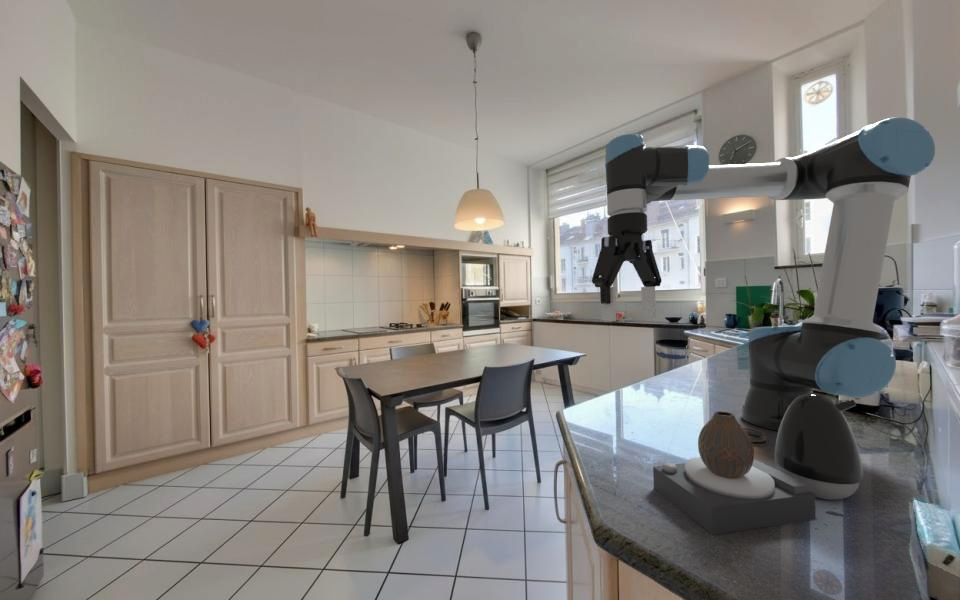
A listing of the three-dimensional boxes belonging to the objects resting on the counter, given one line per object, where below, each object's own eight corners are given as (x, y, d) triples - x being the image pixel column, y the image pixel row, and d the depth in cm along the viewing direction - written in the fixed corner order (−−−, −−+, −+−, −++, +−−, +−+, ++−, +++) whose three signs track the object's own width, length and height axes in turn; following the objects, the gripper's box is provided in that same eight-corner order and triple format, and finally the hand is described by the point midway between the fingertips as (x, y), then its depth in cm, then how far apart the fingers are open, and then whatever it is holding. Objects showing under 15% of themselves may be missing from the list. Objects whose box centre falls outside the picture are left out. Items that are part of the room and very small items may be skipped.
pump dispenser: (886, 512, 52) (883, 403, 52) (800, 506, 54) (797, 401, 54) (832, 477, 62) (830, 386, 62) (762, 473, 64) (759, 385, 64)
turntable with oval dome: (740, 478, 62) (739, 451, 62) (815, 519, 50) (814, 486, 50) (653, 488, 60) (653, 460, 60) (712, 534, 48) (711, 499, 48)
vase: (762, 487, 51) (760, 422, 51) (704, 479, 53) (702, 418, 53) (745, 465, 57) (743, 408, 57) (694, 459, 59) (693, 405, 59)
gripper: (644, 224, 86) (647, 315, 86) (570, 212, 71) (574, 321, 71) (677, 217, 79) (680, 316, 79) (603, 203, 65) (607, 323, 65)
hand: (630, 319), depth 75 cm, fingers open, 13 cm apart
